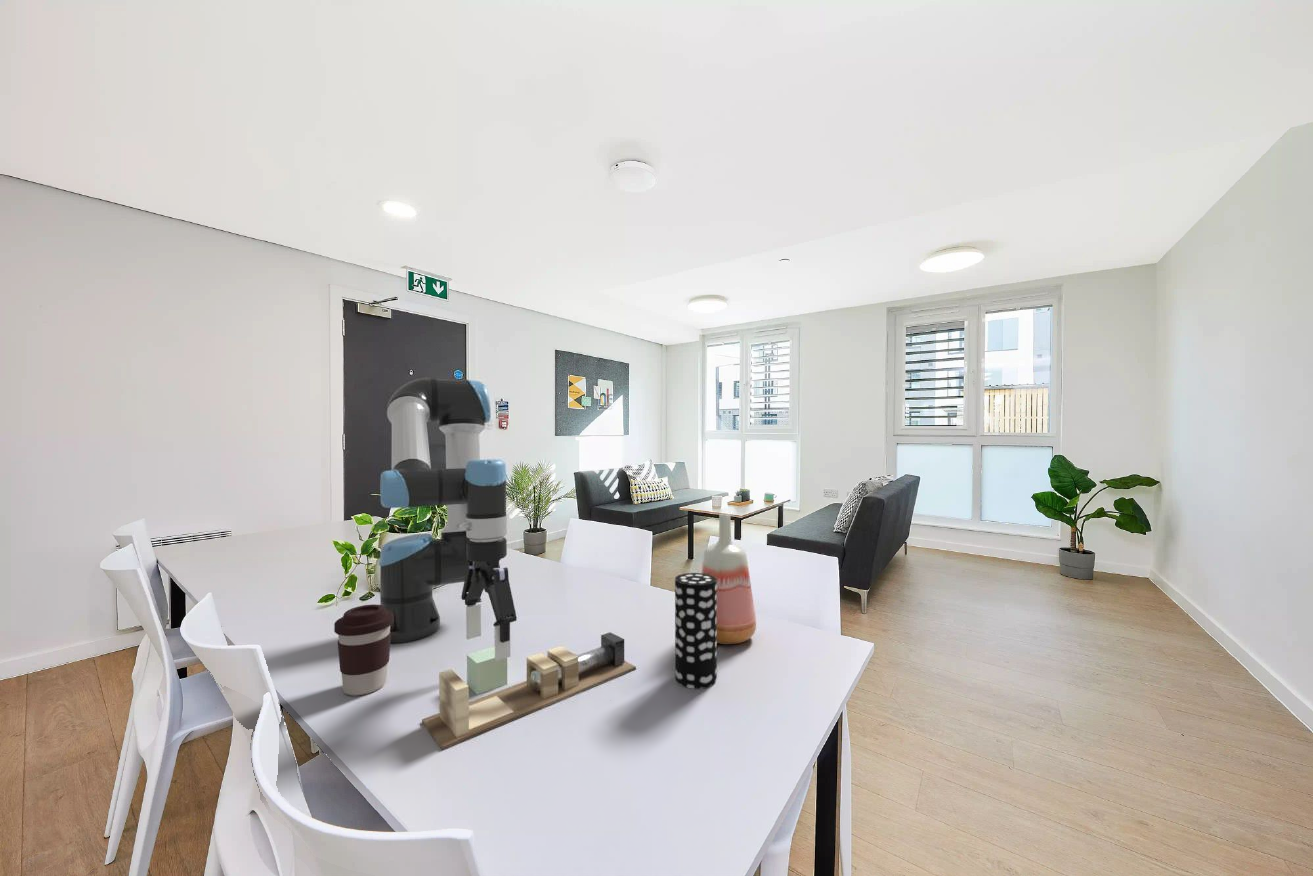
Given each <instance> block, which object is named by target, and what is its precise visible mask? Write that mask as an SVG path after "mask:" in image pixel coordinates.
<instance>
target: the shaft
mask: <svg viewBox="0 0 1313 876" xmlns="http://www.w3.org/2000/svg"><path fill="white" fill-rule="evenodd" d="M576 656H578V660H579V675H580V674H583V673H586V672H588V671H591V670H593V669H596V668H598V667H601V666H604V665H606V664H609V663H610V664H612V665H613V666H618V665H620V664H623V663H624V661H625V639H624V638H623V637H621V636H618V635H616V634H614V633H612V632H606V633H604V634H600V647H596V648H594V649H592V650H591V649H590V650H588V651H585V652H582V653H580V654H577V655H576ZM557 664H558V683H560V682H562V665H561V664H560V663H558V662H557ZM530 679H531V684H532V687H533V689H534V690H535V691H539V690H541V675H540V672H539V671H538V670H535V671H532V672H531V676H530Z"/></svg>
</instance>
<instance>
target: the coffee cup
mask: <svg viewBox="0 0 1313 876" xmlns="http://www.w3.org/2000/svg"><path fill="white" fill-rule="evenodd" d="M342 615H343V616H342V617H340V618H338V619H337V620H336V621H335V622H334V624H333V626H334V627H333V629H334V630H333V632H334V633H335V634H336V635H338V640H337V651H338V652H337V653H338V661H339V662H338V663H339V671H340V673H341V680H342V682H341V683H342V691H343V693H345V694H346V695H348V696H362V695H367V694H371V693H373V692H376V691H377V690H379V689H381V688H383V686H384V685H385V684H386V683H387V681H388V679H387V677H388V664H389V662H390V650H391V643H390V640H391V631H390V625H391V624H392V623H393V622H394V614H393V612H391V611H389V610H386V609H385V607H384V606H382V605H380V604H364V605H359V606H356V607H355V606H354V607H353V608H350V609H348V610H347V611H345V612H344V613H343V614H342Z"/></svg>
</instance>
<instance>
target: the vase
mask: <svg viewBox="0 0 1313 876" xmlns="http://www.w3.org/2000/svg"><path fill="white" fill-rule="evenodd" d="M718 518H719V519H718V523H719V524H718V541H717V542H716V543H714V544H712V545H709V546H708V547H706V548H705V549H704V552H703V556H702V564H701V573H703V574H708V575H712V576H714V577H715V578H716V579H717V644H720V645H736V644H740V643H743V642H744V643H745V642H746V641H748V640H749V639H751V638H752V637H753V636H754V634H755V633H756V630H757V619H756V618H757V617H756V610H755V604H754V602H755V601H754V597H753V590H752V583H751V577H750V571H749V563H748V557H747V553H746V551H745V549H744V548H742V547H741V546H740V545H737V544H735V543H733V541H732V531H731V530H732V527H731V526H732V525H731V524H732V523H731V514H730V513H719V517H718Z"/></svg>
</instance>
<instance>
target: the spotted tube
mask: <svg viewBox="0 0 1313 876" xmlns="http://www.w3.org/2000/svg"><path fill="white" fill-rule="evenodd" d="M674 627H675V628H674V629H675V630H674V648H675V649H674V653H675V654H674V656H675V657H674V658H675V659H674V664H675V665H674V668H675V669H674V671H675V673H674V675H675V681H676V682H677V683H678V685H679V686H680V685H681V687H685V688H689V689H695V690H696V689H699V690H700V689H706V688H710V687H712V686H713V685H715V684H716V682H717V679H718V673H717V672H718V671H717V670H718V662H717V661H718V660H717V659H718V655H717V654H718V650H717V648H718V646H717V644H718V643H717V579H716V578H715V577H714V576H712V575H708V574H703V573H700V572H687V573H682V574H679V575H677V576H675V578H674Z"/></svg>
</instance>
